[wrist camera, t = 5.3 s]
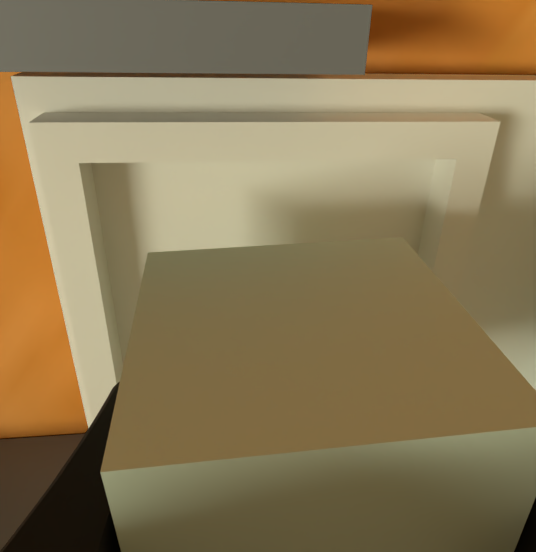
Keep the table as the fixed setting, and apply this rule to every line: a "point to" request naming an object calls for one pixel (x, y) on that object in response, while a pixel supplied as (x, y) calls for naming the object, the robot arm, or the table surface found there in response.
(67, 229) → the tray
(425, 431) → the block
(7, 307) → the table surface
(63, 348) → the table surface
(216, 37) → the dock
